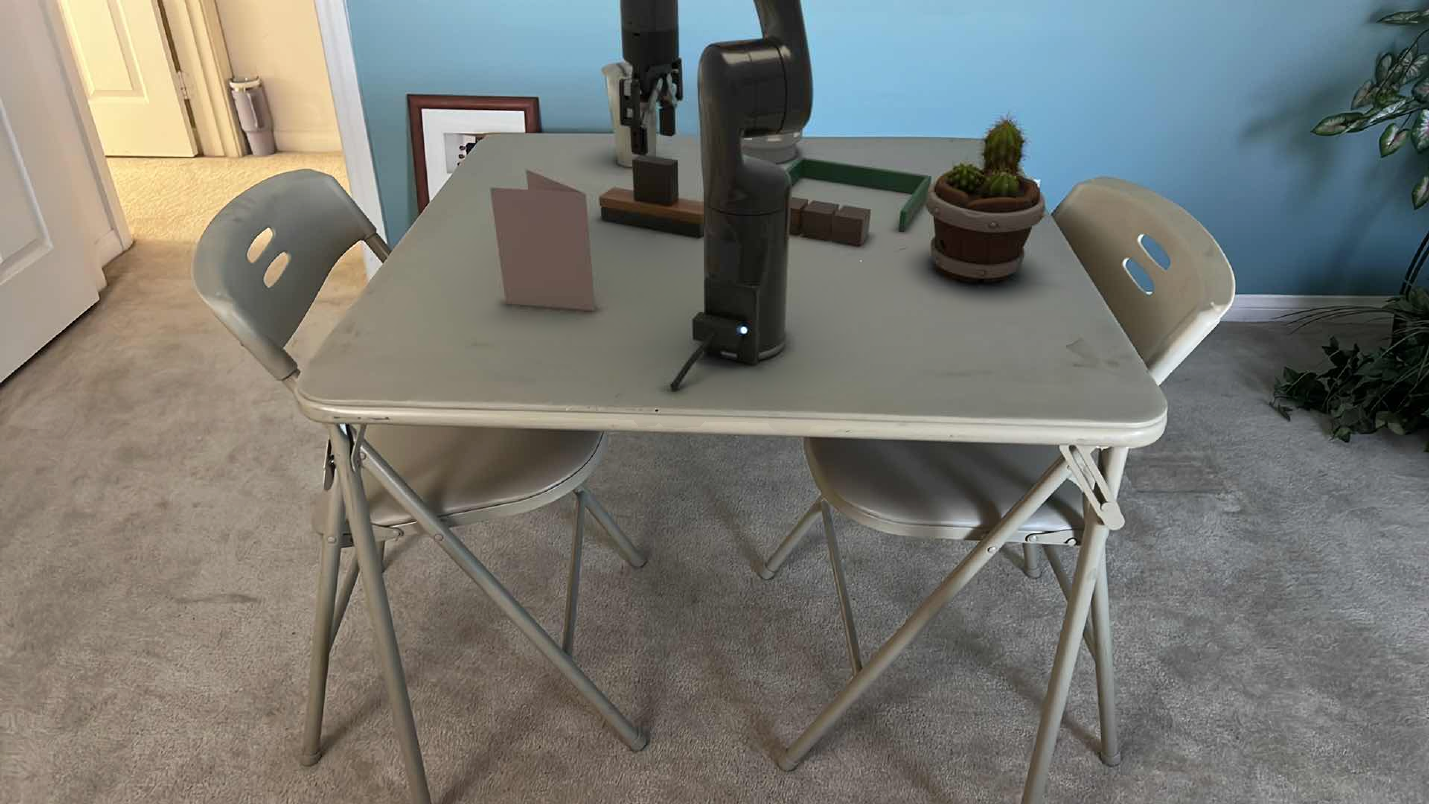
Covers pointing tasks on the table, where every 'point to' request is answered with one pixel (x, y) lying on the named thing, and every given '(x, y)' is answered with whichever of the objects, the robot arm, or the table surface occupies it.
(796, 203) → the cube
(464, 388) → the table surface
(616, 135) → the glass
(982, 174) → the flowerpot
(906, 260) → the table surface
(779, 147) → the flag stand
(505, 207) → the greeting card
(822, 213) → the cube
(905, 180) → the frame
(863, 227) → the cube
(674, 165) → the hand brush
